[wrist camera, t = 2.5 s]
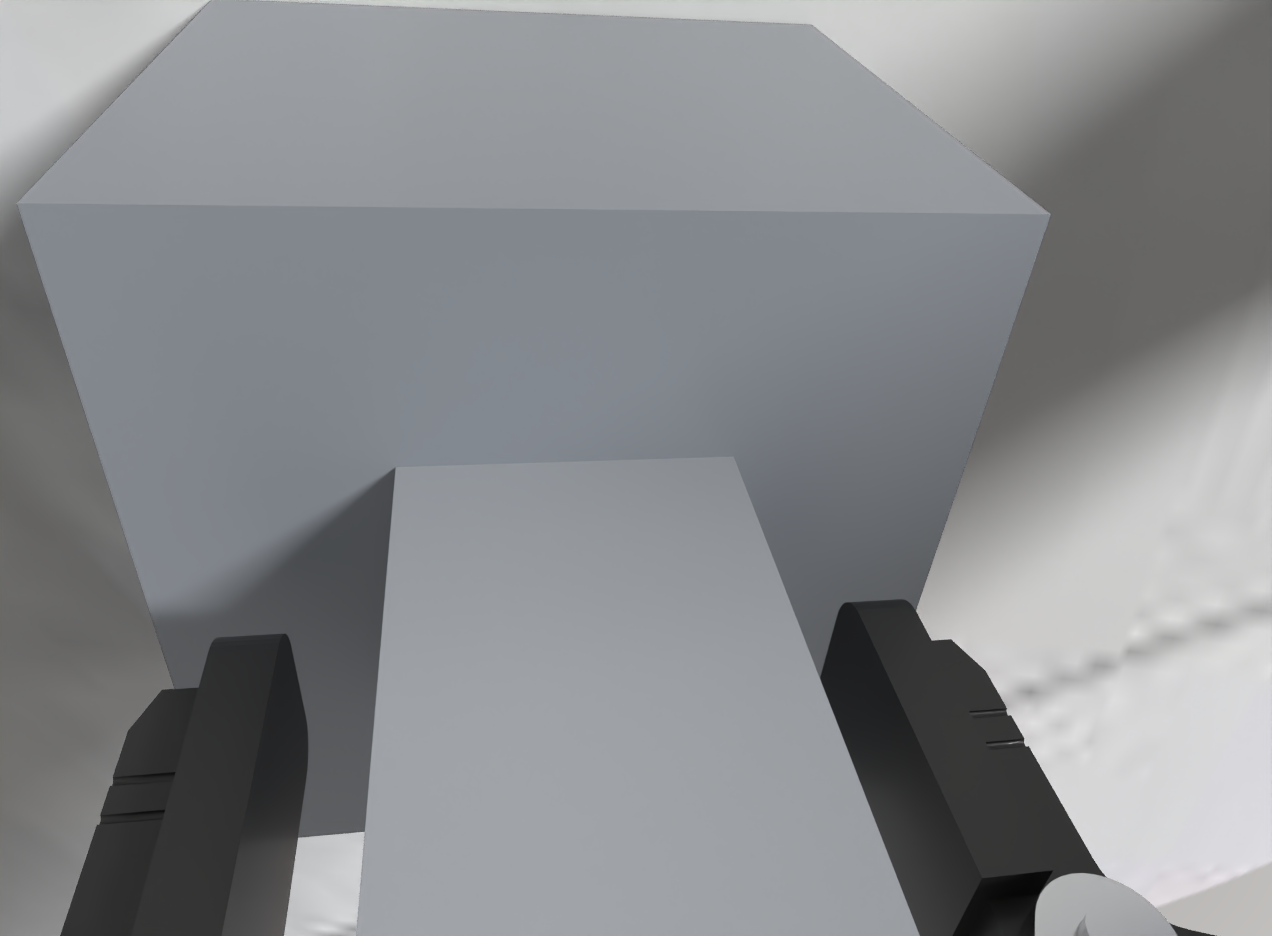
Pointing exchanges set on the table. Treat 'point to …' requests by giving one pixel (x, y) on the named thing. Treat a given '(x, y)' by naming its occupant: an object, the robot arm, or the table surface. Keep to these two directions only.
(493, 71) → the grey stepped block
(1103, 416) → the table surface
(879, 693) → the robot arm
